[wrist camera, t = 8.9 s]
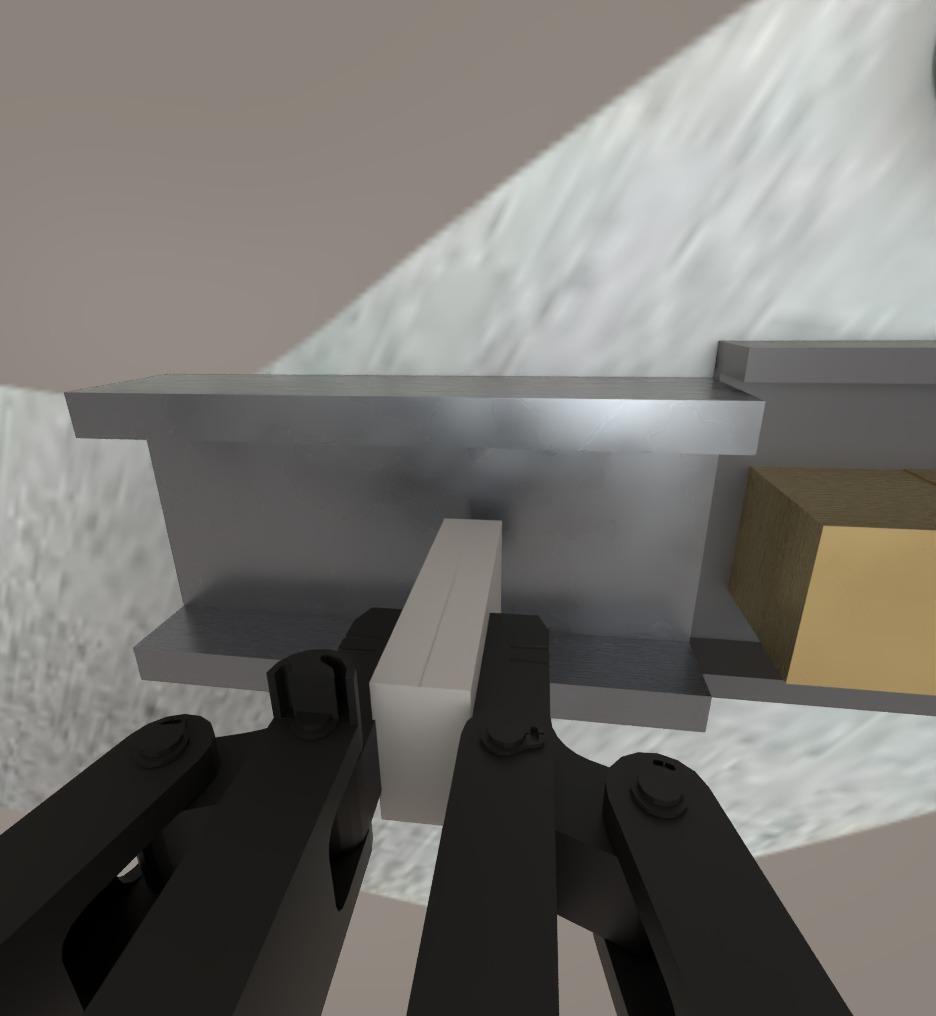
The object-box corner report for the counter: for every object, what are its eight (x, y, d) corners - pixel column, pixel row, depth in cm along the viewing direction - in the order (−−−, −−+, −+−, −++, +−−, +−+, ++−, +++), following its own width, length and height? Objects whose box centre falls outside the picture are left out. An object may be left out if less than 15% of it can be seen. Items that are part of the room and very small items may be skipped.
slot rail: (214, 612, 21) (141, 679, 17) (166, 373, 18) (63, 392, 14) (674, 646, 18) (705, 732, 15) (713, 377, 15) (765, 401, 12)
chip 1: (727, 589, 17) (785, 683, 13) (749, 465, 15) (823, 525, 11) (868, 597, 16) (977, 699, 12) (903, 470, 15) (1042, 534, 11)
